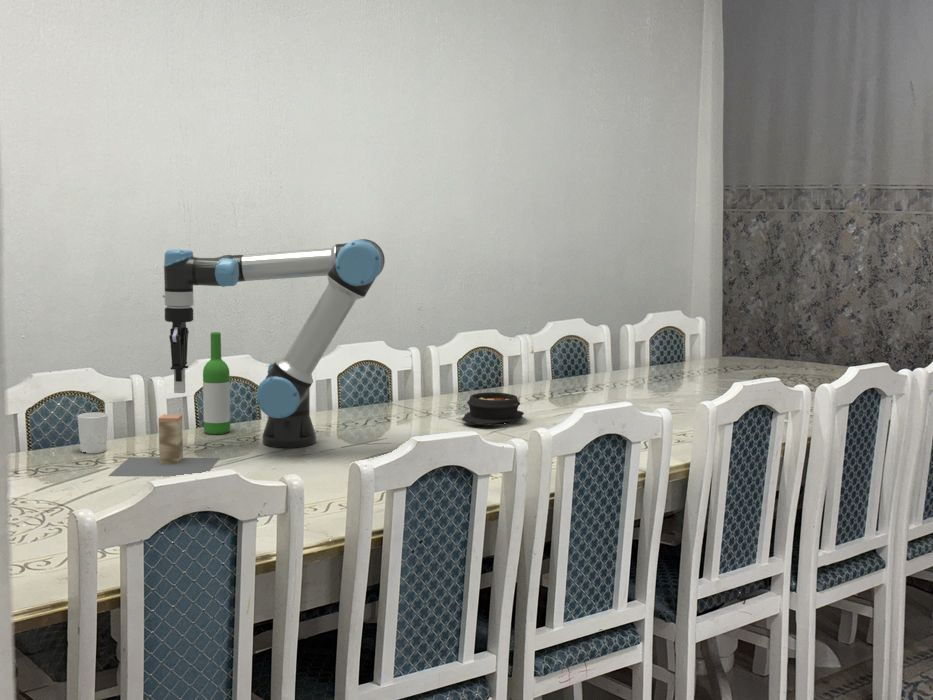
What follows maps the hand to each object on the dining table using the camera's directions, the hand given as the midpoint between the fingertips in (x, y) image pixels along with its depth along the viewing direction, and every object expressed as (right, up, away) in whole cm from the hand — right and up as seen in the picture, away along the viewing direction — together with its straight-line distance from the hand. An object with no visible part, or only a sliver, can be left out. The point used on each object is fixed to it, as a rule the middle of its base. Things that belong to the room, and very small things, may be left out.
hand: (179, 392), depth 296 cm
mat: (+1, -19, -17) cm, 25 cm away
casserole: (+87, -12, +50) cm, 101 cm away
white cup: (-24, -16, +1) cm, 29 cm away
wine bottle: (+4, -13, +27) cm, 31 cm away
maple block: (+1, -18, -11) cm, 21 cm away
